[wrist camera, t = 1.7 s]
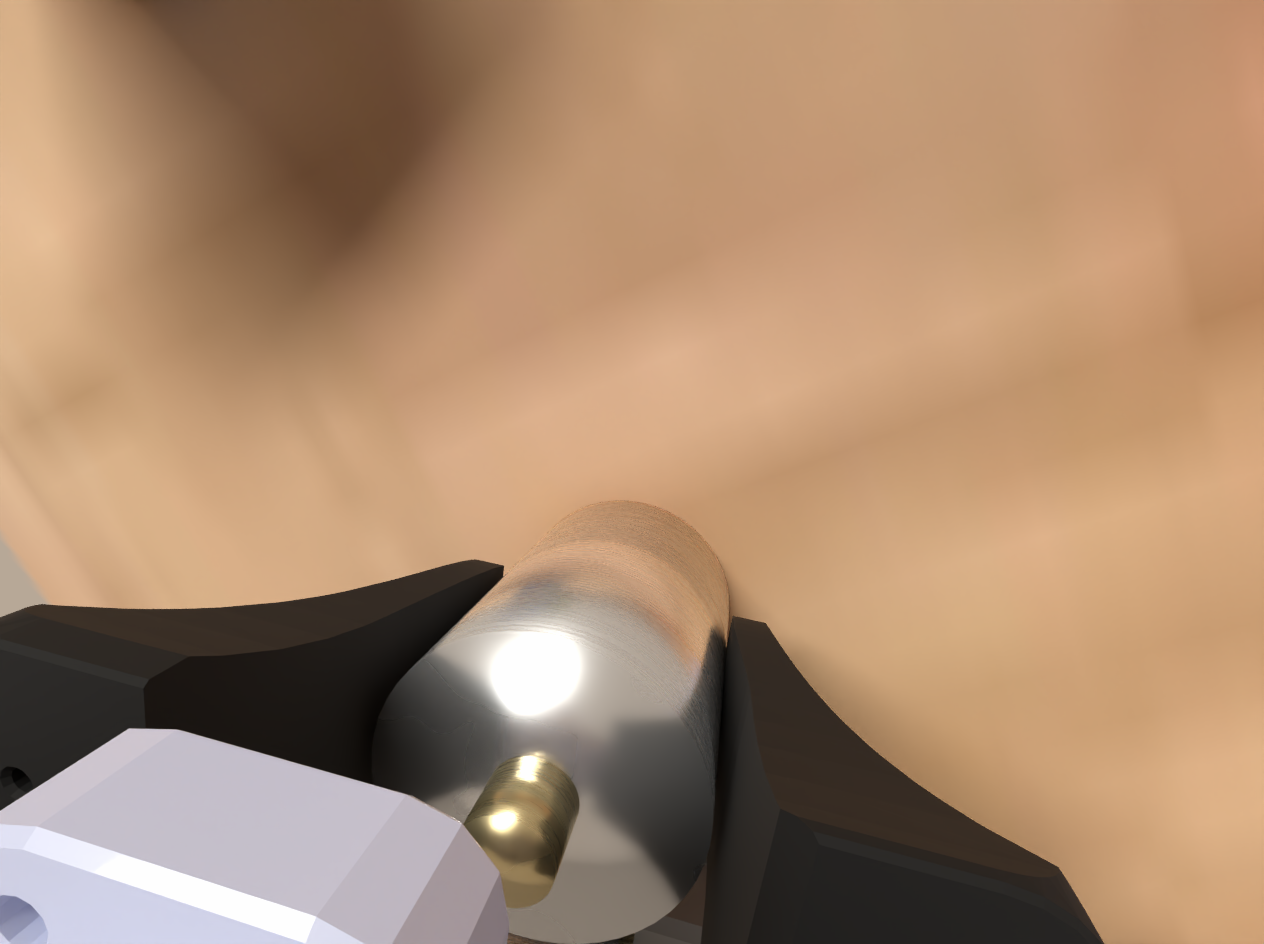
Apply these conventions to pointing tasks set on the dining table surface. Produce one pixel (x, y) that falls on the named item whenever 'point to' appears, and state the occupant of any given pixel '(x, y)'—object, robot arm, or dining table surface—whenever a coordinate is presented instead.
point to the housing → (577, 722)
